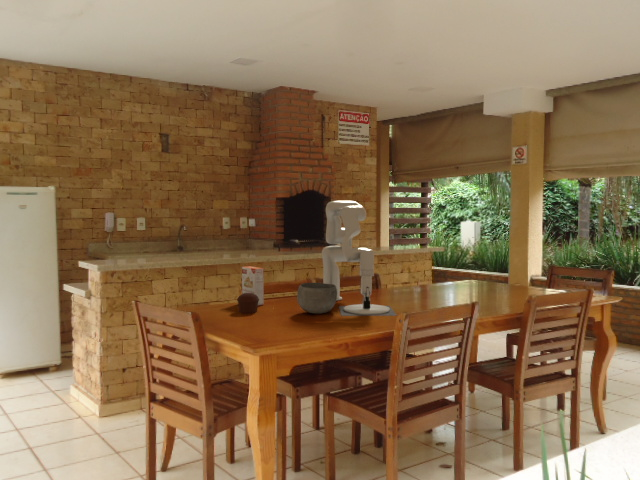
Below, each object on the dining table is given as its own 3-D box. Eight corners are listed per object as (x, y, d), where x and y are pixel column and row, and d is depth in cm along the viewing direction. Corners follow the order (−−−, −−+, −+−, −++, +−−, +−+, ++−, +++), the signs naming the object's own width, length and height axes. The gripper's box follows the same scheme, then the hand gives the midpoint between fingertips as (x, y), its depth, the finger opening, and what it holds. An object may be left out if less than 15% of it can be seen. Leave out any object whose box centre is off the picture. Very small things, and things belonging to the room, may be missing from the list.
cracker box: (241, 302, 338) (241, 266, 337) (250, 301, 342) (250, 265, 341) (255, 306, 328) (254, 268, 326) (264, 305, 331) (264, 267, 330)
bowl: (291, 315, 300) (291, 286, 299) (304, 308, 319) (304, 281, 318) (330, 318, 294) (330, 287, 293) (341, 310, 313) (341, 282, 312)
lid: (342, 306, 323) (342, 295, 322) (386, 306, 323) (386, 295, 323) (345, 314, 299) (345, 302, 298) (392, 314, 299) (392, 302, 299)
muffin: (256, 309, 317) (256, 291, 317) (262, 313, 307) (261, 294, 306) (234, 311, 313) (234, 292, 312) (239, 314, 303) (239, 295, 302)
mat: (338, 307, 325) (338, 306, 325) (389, 306, 325) (389, 305, 325) (341, 316, 297) (341, 315, 297) (397, 316, 297) (397, 315, 297)
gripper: (358, 270, 318) (358, 304, 319) (361, 274, 301) (360, 310, 303) (372, 270, 318) (372, 304, 319) (375, 274, 301) (375, 310, 303)
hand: (366, 307), depth 311 cm, fingers closed on lid, 4 cm apart
